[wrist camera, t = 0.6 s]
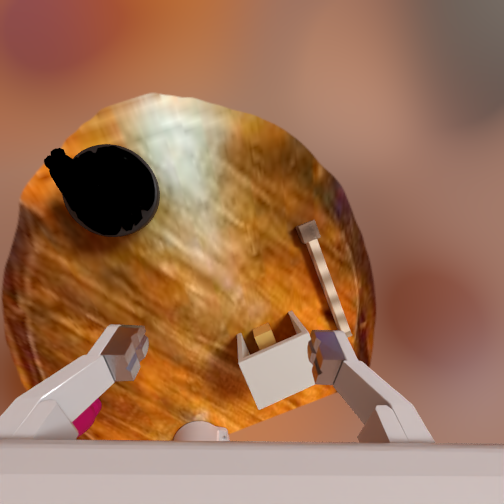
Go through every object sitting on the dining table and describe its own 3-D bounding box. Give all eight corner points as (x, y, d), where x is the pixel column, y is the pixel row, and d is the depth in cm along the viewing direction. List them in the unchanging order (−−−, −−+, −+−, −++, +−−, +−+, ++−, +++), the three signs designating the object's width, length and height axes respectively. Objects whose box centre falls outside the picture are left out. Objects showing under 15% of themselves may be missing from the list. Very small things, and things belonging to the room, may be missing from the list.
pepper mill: (105, 415, 61) (44, 501, 42) (78, 419, 61) (3, 508, 41) (101, 391, 61) (38, 467, 41) (74, 395, 60) (-4, 474, 40)
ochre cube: (274, 337, 64) (277, 346, 59) (258, 344, 64) (261, 353, 59) (268, 322, 64) (271, 329, 59) (252, 329, 63) (254, 337, 58)
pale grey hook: (350, 329, 66) (355, 333, 63) (313, 345, 65) (317, 350, 62) (310, 220, 62) (314, 220, 59) (271, 236, 62) (273, 236, 59)
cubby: (306, 347, 65) (326, 379, 51) (253, 371, 64) (258, 410, 50) (291, 310, 64) (308, 332, 50) (237, 334, 63) (238, 363, 49)
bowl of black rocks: (179, 225, 59) (155, 221, 40) (105, 245, 58) (45, 249, 39) (157, 151, 57) (120, 111, 38) (80, 170, 56) (4, 137, 37)
